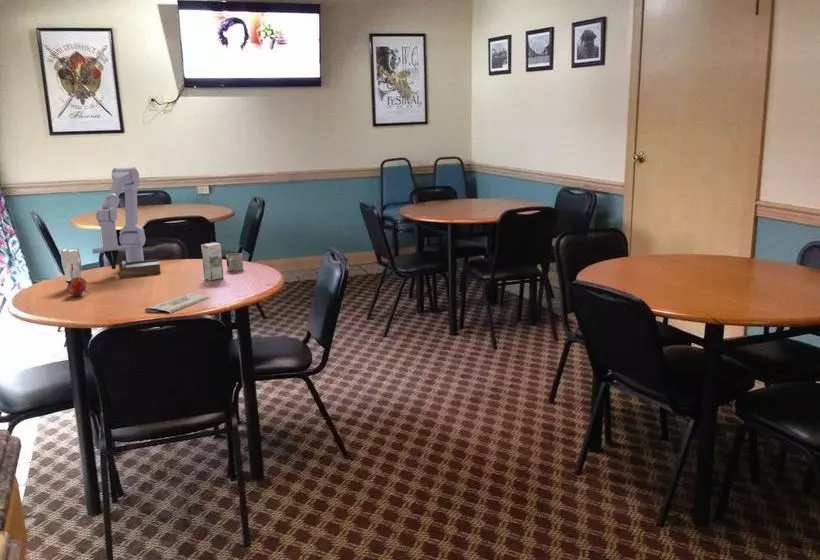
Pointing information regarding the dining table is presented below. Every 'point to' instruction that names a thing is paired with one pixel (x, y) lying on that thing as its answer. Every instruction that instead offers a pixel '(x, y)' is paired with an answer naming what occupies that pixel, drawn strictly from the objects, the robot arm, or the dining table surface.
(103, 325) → the dining table surface
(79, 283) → the pomegranate
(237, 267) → the mug
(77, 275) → the white tapered container
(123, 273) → the case
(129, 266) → the cover plate
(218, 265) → the syrup box
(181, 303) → the newspaper
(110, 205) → the robot arm
